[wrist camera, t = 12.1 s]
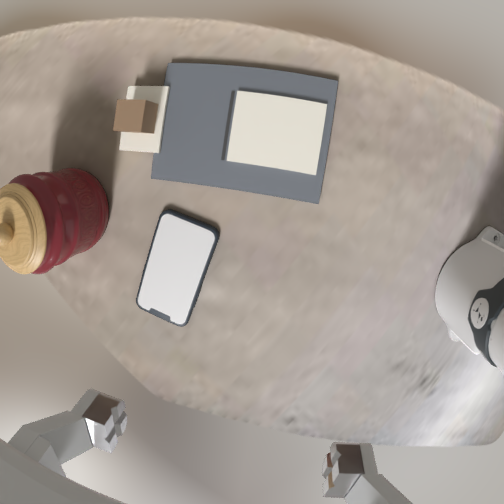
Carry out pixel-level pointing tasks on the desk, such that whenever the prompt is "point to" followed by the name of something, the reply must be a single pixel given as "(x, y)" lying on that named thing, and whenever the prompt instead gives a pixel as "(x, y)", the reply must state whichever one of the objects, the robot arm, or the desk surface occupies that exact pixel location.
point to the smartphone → (176, 266)
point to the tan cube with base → (142, 118)
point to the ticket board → (246, 129)
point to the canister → (50, 218)
